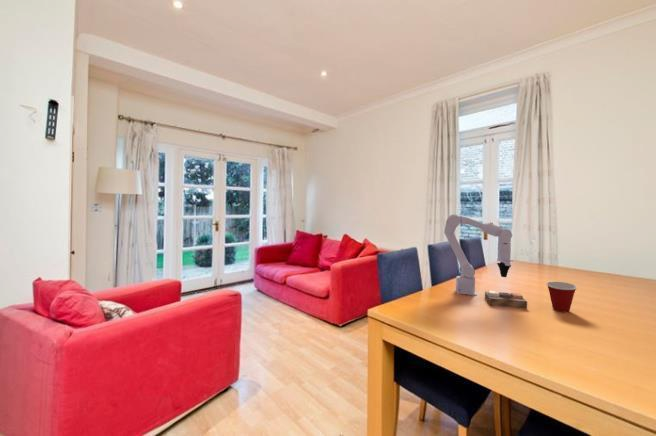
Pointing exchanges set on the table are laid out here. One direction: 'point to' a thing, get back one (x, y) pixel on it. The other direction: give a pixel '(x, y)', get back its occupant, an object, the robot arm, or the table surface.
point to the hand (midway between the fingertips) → (503, 276)
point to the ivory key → (493, 293)
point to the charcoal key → (505, 295)
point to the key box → (506, 302)
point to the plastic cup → (561, 295)
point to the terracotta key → (516, 295)
